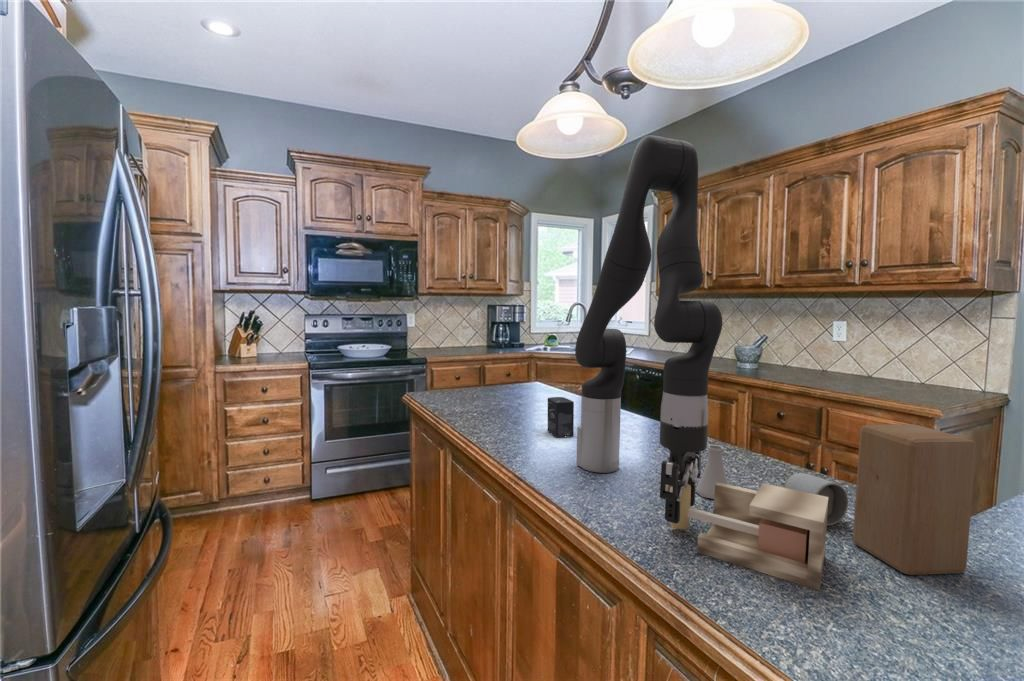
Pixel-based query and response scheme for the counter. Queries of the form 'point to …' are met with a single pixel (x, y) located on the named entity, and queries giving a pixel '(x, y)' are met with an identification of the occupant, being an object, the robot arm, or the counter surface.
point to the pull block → (752, 530)
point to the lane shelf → (775, 507)
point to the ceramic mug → (822, 493)
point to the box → (560, 416)
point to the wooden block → (914, 497)
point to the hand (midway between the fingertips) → (680, 512)
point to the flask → (712, 472)
